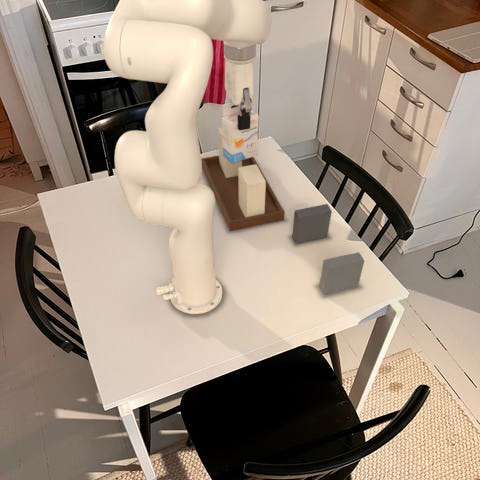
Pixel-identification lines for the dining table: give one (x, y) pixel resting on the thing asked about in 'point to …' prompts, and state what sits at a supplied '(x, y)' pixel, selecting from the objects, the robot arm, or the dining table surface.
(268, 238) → the dining table surface
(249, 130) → the ink box
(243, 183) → the white books
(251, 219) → the book tray
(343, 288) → the gray bookends
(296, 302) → the dining table surface
